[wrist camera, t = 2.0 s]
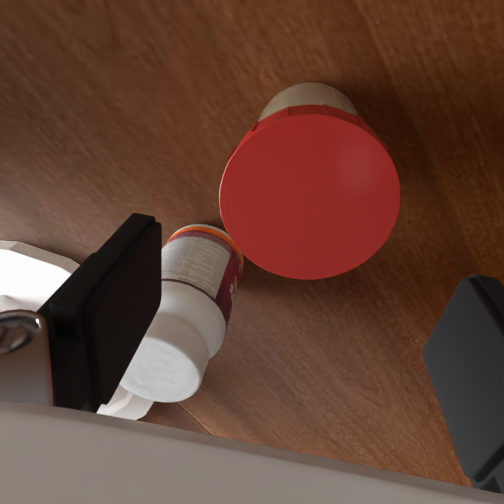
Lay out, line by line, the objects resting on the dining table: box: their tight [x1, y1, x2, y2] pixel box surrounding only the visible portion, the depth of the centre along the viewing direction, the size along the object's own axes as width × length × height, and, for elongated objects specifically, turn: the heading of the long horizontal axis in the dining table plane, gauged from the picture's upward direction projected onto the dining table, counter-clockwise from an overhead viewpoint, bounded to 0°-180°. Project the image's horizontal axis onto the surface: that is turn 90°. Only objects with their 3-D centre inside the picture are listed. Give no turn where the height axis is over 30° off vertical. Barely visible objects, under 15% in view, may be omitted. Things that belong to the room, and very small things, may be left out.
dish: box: [0, 241, 154, 420], centre depth 32 cm, size 25×25×11 cm
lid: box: [219, 103, 401, 280], centre depth 15 cm, size 7×7×2 cm
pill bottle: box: [119, 224, 243, 402], centre depth 24 cm, size 6×6×11 cm
